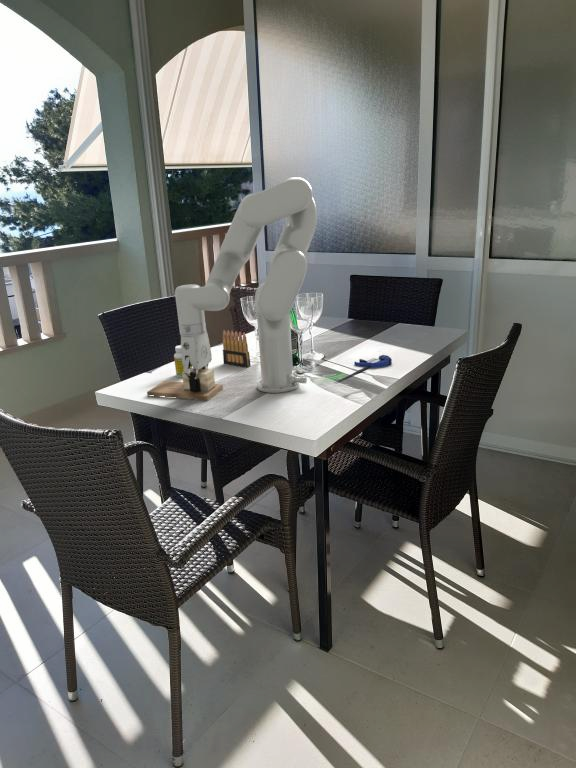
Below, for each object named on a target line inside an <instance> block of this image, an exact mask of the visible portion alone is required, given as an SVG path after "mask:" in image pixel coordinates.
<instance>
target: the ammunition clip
mask: <svg viewBox="0 0 576 768" xmlns="http://www.w3.org/2000/svg"><path fill="white" fill-rule="evenodd" d="M248 345H249V344H248V341H247V335H246V333H245V332H244V331H243V333H242V332H241V331H239V332H237V330H235V332H233V330H231V331H229V329H228V330H227V332H226V330H225V329H223V331H222V346H223V347H222V348H223V349H222V359H223V364H224V365H227V364H228V366H233V365H234V366H235V367H239V366H240V367H241V368H245V367H246V369H248V368H250V367H252V366H251V357H250V356H251V355H250V351H249V347H248ZM240 367H239V368H240Z"/></svg>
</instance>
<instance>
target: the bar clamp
mask: <svg viewBox="0 0 576 768" xmlns="http://www.w3.org/2000/svg"><path fill="white" fill-rule="evenodd" d="M358 360H359V361H354V366H356V367H362V368H360V369H358V370H356V371H355V372H352V373H351V374H349V375H347V376H345V377H343V378H341V379H339V380H337V381H335V382H334V384H335V385H336V384H339V383H340V382H343V381H345V380H348V379H349V378H352V377H353V376H355V375H357V374H360V373H361V372H363V371H365V370H367V369H376V368H384V367H388V366H391V365H392V364H393V363H392V361H393V360H392V358H391V356H388V355H386V354H382V355H381V354H380V355H379V356H378V358H375V357H374V358H370V359H367V360H365V359H362V358H359V359H358Z"/></svg>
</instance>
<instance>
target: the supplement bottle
mask: <svg viewBox="0 0 576 768" xmlns="http://www.w3.org/2000/svg"><path fill="white" fill-rule="evenodd" d="M174 348H175V349H174V350H175V351H174V352H175V353H174V355H173V360H174V366H175V375H176V377H177V378H183V376H182V373H183V371H184V367H183V363H182V354H181V344H180V345H176V346H175V347H174ZM191 368H193V367H192V366H191Z"/></svg>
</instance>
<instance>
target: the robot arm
mask: <svg viewBox="0 0 576 768" xmlns="http://www.w3.org/2000/svg"><path fill="white" fill-rule="evenodd" d="M313 193H314V192H313V189H312V186H311V184H310V183H309V181H307V180H306V179H304V178H303V177H298V176H296V177H295V176H293V177H288V178H285V180H283V181H282V182H280V183H277V184H275V185H273V186H270V187H269V188H266V189H263V190H261V191H257V192H255V193H250V194H247V195H246V196H244V197H243V198H242V200H241V201H240V203H239V205H238V207H237V209H236V211H235V214H234V216H233V219H232V221H231V223H230V225H229V228H228V229H227V232H226V235H225V236H224V239H223V242H222V244H221V246H220V248H219V249H220V250H219V252H218V255H217V257H216V260H215V261H214V265H213V266H212V269H211V271H210V273H209V275H208V277H207V279H206V283H205V285H204V286H200V285H199V284H194V283H193V284H191V283H190V284H183V285H179V286H177V287H176V289H175V290H174V295H175V304H176V311H177V320H178V328H179V335H180V345H181V354H182V363H183V367H184V371H183V373H184V374H186V375H187V377H188V379H189V385H190V391H191V392H200V391H201V388H200V380H199V378H198V370H199V369H209V368H208V367H209V364H210V363H211V362H212V360H213V359H212V357H213V356H212V349H211V343H210V339H209V334H208V331H207V325H206V318H205V317H206V316H205V315H206V314H205V311H210V312H219V311H222V310H224V309H225V308H227V307H228V305H229V304H230V297H231V295H230V293H231V290H232V289H233V286H234V284H235V282H236V280H237V278H238V276H239V274H240V272H241V270H242V268H243V267H244V266H245V265H246V263H247V262H248V261H249V260H250V258H251V257H252V254H253V252H254V250H255V248H256V246H257V243H258V241H259V239H260V236H261V234H262V232H263V230H264V228H265V226H267V225H269V224H273V223H275V222H278V221H280V220H283V219H285V223H284V226H283V229H282V231H281V235H280V236H279V239H278V242H277V244H276V247H274V248H275V249H274V250H273V253H272V255H271V256H270V260H269V261H270V264H269V265H270V269H269V270H268V273H267V276H266V279H265V281H263V282H261V284H260V285H259V286H258V287H257V288H256V291H255V294H254V306H255V311H256V313H255V314H256V323H257V324H256V325H257V333H258V335H257V336H258V346H259V347H258V348H259V360H260V372H261V380H259V381H258V382H257V383H256V388H257V390H258V391H260V392H263V393H268V394H279V393H287V392H290V391H294V390H296V389H297V388H298V387H299V386H300V384H307V382H308V381H307V380H308V379H307V377H306V375H305V374H298V373H297V370H296V369H293V368H294V366H293V365H294V363H293V362H294V361H293V348H292V347H293V346H292V328H291V327H292V326H291V315H290V312H291V311H292V309H293V306H294V304H295V301H296V299H297V297H298V295H299V292H300V290H301V287H302V285H303V283H304V280H305V277H306V274H307V272H308V271H307V270H308V261H307V258H306V256H307V253H308V250H309V249H310V246H311V243H312V240H313V237H314V235H315V231H316V229H317V224H318V210H317V205H316V202H315V199H314V197H313V196H314V195H313ZM191 366H192V368H191ZM191 370H192V371H194V373H193V372H191Z"/></svg>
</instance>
